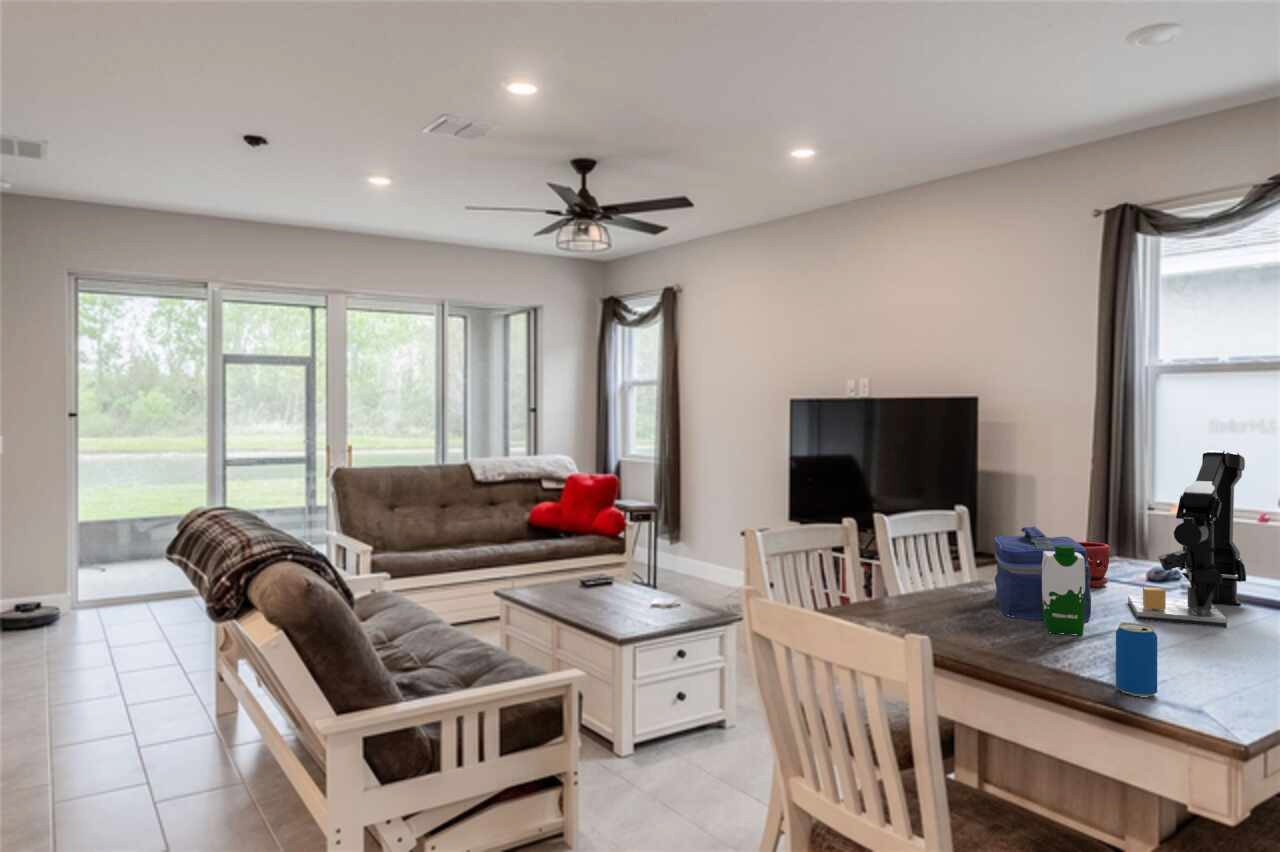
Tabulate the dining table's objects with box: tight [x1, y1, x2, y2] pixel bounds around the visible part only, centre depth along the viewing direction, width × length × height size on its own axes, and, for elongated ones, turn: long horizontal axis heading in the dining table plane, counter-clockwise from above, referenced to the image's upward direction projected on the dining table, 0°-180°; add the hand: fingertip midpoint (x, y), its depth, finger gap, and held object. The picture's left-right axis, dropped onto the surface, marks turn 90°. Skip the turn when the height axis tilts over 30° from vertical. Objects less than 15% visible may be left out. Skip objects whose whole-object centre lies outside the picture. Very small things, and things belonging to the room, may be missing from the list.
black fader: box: [1187, 586, 1211, 614], centre depth 203 cm, size 3×4×6 cm
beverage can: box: [1115, 622, 1158, 697], centre depth 150 cm, size 6×6×12 cm
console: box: [1127, 594, 1228, 628], centre depth 207 cm, size 20×18×2 cm
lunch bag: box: [994, 526, 1092, 622], centre depth 215 cm, size 31×21×20 cm
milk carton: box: [1042, 545, 1085, 636], centre depth 192 cm, size 9×9×20 cm
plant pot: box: [1076, 541, 1110, 588], centre depth 243 cm, size 13×13×12 cm
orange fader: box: [1142, 586, 1167, 611], centre depth 204 cm, size 3×4×6 cm
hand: (1199, 605), depth 203 cm, fingers closed on black fader, 3 cm apart
